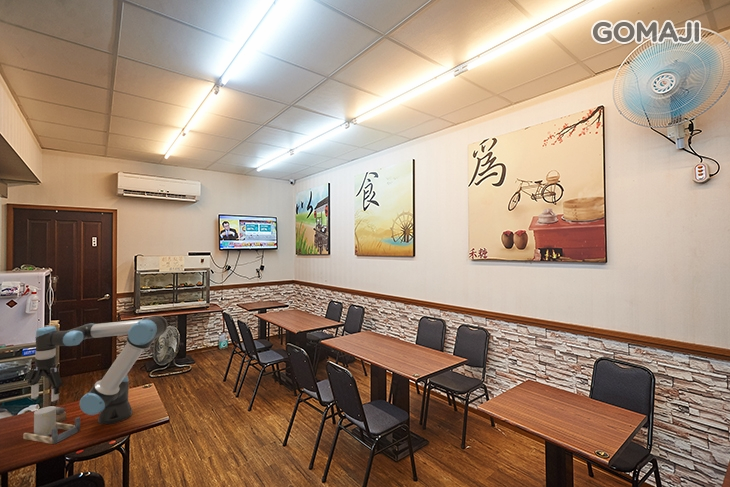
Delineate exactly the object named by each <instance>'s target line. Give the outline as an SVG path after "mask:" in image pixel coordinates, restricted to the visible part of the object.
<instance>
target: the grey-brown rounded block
mask: <svg viewBox="0 0 730 487" xmlns="http://www.w3.org/2000/svg"><path fill="white" fill-rule="evenodd" d="M55 407H56V422H58V423H63V422H64V421H66V420H67V412H66V407H60V406H59V407H58V406H55Z"/></svg>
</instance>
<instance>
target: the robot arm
mask: <svg viewBox="0 0 730 487" xmlns="http://www.w3.org/2000/svg"><path fill="white" fill-rule="evenodd" d="M168 327H169V326H168V321H167V319H166V318H165V317H164V316H162V315H152V316H145V317H142V319H131V320H122V321H114V322H101V323H94V322H93V323H91V322H90V323H86V324H83V325H81V326H77V327H74V328H71V329H68V330H57V327H56V326H53V325H51V326H50V325H49V326H42V327H40V328H37V329H36V331H35V354H34V355H35V362H34V364H35V365H33V367H32V370H31V373H30V376H29V378H28V380H27V384H29V385H30V391H31V392H30V395H31V397H30V399H34V398H37V397H39V396H40V395H39V389H40V388H39V387H40V384H39V381H40V380H41V378H42V377H44V378H47V380H48V382H49V383H50V385H51V399H50V400H51V402H56V401H57V400H59V397H60V396H59V395H60V387H62V386H64V384H63V381H62V377H61V375H60V373H59V372H60V371H59V367H58V366H57V367H54V365H55V364H56V361H57V360H56V355H57V354H56V352H57V349H56V347H72V346H78V345H81V343H82V342H83V340H87V339H96V338H97V339H98V338H105V337H114V336H116V337H117V336H125V335H128V336H127V337H126V344H125V345H124V347H123V348H122V350H121V352H119V355H118V356H117V357H116V359H115V360H114V361H113V362H112V364H111V366H110V367H109V368H108V370H107V372H106V373H105V374H104V375H103V377H102V379H100V380H97V381H96V382H95V383H94V384H93V386H92V387H91V389H90V390H89V392H87V393H85V394H84V395H83V396H81V398H80V399H79V403H78V404H79V407H80V410H81V412H82V413H84V414H85V415H88V416H95V415H98V414H99V415H98V417H97V418H98V423H99V424H101V425H112V424H113V425H114V424H116V423H120V422H123V421H125V420H127V419H128V418H130V417H131V416H132V414H133V409H132V406H131V404H130V401H129V386H130V385H129V383H130V381H129V375H128V374H129V372H130V371H131V369H132V368H133V365H135V363H136V362H137V360H139V357H140V356H141V354H142V353H143V352H144V351H145V350H147V349H149V348H150V347H151V345H152V344H153V342H154V341H155V340H156V338H158V337H161V336H163V334H165V332H166V331H167V330H168Z"/></svg>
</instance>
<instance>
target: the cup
mask: <svg viewBox="0 0 730 487" xmlns="http://www.w3.org/2000/svg"><path fill="white" fill-rule="evenodd" d="M56 407H57V406H53V405H52V406H45V407H41V408H39V409H36V410H35V411H34V412H33V434H37V435H42V436H48V437H50V436H52V429H54V428H56Z"/></svg>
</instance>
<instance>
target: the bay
mask: <svg viewBox="0 0 730 487" xmlns="http://www.w3.org/2000/svg"><path fill="white" fill-rule="evenodd" d="M58 430H65V431H63V432H60V433H59V434H58V432H59V431H58ZM79 432H81V417H80V416H77V417H75V418H74V424H71V423H69V424H68V423H65V422H60V423H58V422H56V428H54V429H52V434H51V436H42V435H37V434H34V433H29V432H24V433H23V435H22V436H23V440H29V441H33V442H34V441H35V442H40V443H45V444H52V445H56V444H57V443H59V442H61V441H63V440H65V439H67V438H69V437H71V436H73V435H75V434H77V433H79Z"/></svg>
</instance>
